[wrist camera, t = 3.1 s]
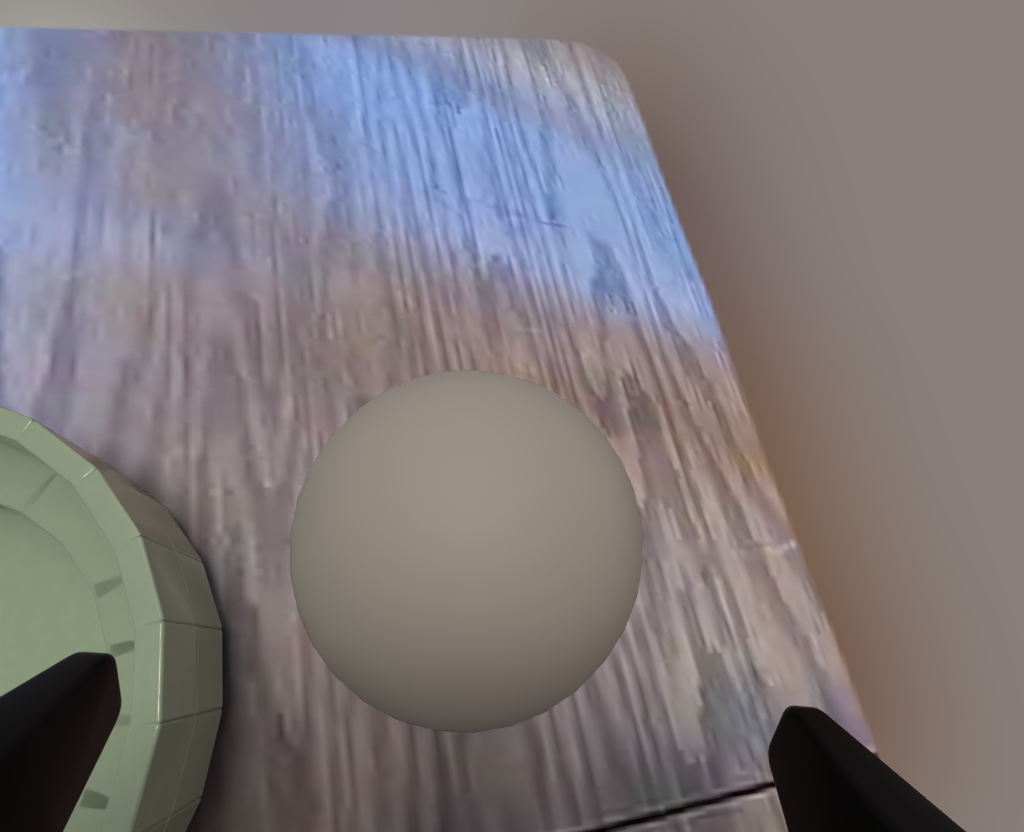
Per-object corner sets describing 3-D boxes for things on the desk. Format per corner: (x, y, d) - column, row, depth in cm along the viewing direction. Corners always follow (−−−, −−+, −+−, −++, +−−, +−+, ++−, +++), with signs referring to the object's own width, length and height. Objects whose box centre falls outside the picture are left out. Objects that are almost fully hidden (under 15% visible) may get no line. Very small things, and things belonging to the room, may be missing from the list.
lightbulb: (536, 716, 17) (699, 801, 7) (325, 680, 16) (159, 713, 6) (562, 510, 19) (710, 345, 9) (378, 475, 19) (321, 263, 9)
